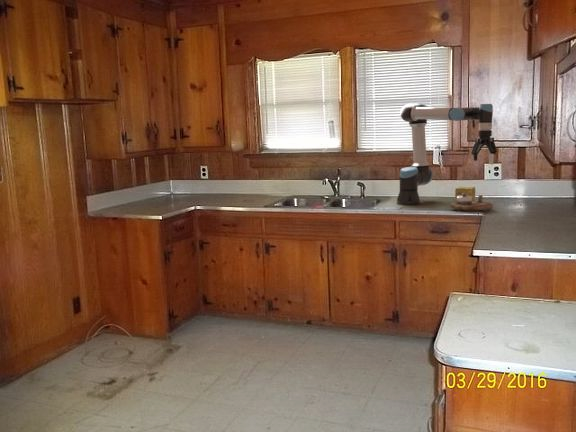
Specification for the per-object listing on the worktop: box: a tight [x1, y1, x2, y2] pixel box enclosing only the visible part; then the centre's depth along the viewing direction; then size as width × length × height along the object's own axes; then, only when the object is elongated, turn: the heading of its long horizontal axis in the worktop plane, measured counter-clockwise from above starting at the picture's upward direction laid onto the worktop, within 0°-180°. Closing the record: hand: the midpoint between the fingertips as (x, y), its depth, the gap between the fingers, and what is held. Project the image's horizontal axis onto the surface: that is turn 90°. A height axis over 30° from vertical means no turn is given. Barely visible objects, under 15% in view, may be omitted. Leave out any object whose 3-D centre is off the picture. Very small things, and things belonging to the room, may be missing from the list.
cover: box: [456, 193, 472, 205], centre depth 334 cm, size 9×9×6 cm
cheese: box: [454, 186, 476, 202], centre depth 360 cm, size 10×11×10 cm
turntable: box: [450, 194, 494, 211], centre depth 331 cm, size 24×24×6 cm
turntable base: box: [458, 209, 485, 213], centre depth 332 cm, size 14×14×2 cm
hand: (483, 165), depth 335 cm, fingers open, 13 cm apart
